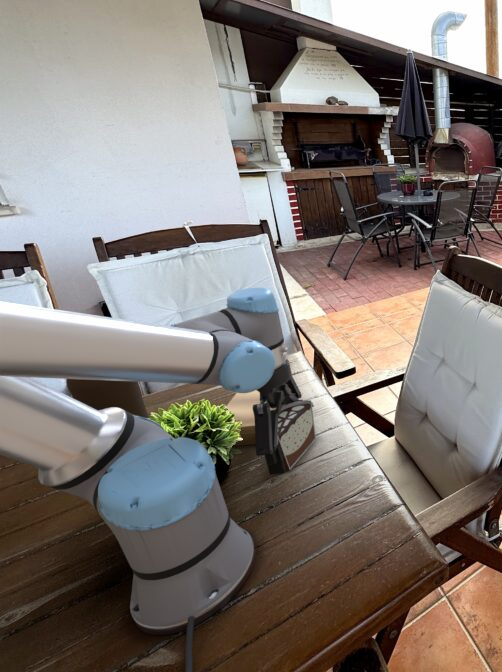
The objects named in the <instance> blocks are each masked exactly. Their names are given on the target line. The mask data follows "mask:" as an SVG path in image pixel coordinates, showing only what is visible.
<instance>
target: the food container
mask: <svg viewBox="0 0 502 672" xmlns="http://www.w3.org/2000/svg"><path fill="white" fill-rule="evenodd" d="M302 400H303V401H297V402H293V403H290V404H287V405H285V404H284V405H283V406H281V413H279V414H278V431H277V445H279V446H280V450H281V454H282V458H283V462H284V466H285V470H286V471H291V470H292V468H293V467H294V466H295V465H296V464H297V463H298V462H299V460H300V459H301V458H302V456H303V455H304V454H305V453H306V452H307V450H308V449H309V448H310V447H311V446H312V444H313V443H314V442H315V441H316V440H317V437H316V436H317V435H316V428H315V420H314V410H313V408H314V407H315V405H314V403H313V401H312V400H311V399H309V400H308V399H307V400H306V399H302Z"/></svg>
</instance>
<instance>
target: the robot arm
mask: <svg viewBox="0 0 502 672" xmlns="http://www.w3.org/2000/svg"><path fill="white" fill-rule="evenodd" d="M288 352H289V347H288V346H286V343H285V338H284V333H283V329H282V324H281V319H280V313H279V308H278V304H277V301H276V298H275V295H274V293H273V291H272V290H270V289H268V288H265V287H248V288H242V289H239V290H236V291H234V292H232V293H230V294H228V295H227V297H226V307H224V308H222V309H219V310H217V311H215V312H210V313H207V314H204V315H201V316H198V317H194V318H191V319H187V320H184V321H181V322H177V323H172V324H170V325H163V324H158V323H151V322H143V321H136V320H129V319H124V318H116V317H111V316H110V317H109V316H103V315H96V314H89V313H83V312H76V311H70V310H69V311H68V310H62V309H55V308H49V307H43V306H42V307H41V306H35V305H29V304H28V305H27V304H21V303H14V302H7V301H0V456H2V457H6V458H8V459H11V460H14V461H17V462H19V463H23V464H25V465H29V466H32V467H34V468H37V469H38V472H37V473H38V475H37V477H38V481H39V483H40V484H41V485H43V486H45V487H48V488H51V489H54V490H57V491H60V492H63V493H66V494H69V495H73V496H75V497H77V498H78V497H79V498H81V499H83V500H85V501H87V502H89V503H90V505H91V506H92V507H93V508H94V510H95V511H96V513H97V514H98V515H99V516H100V517H101V519H102V520H103V522H104V523H105V524H106V526H108V528H109V529H110V530H111V532H112V533H113V535H114V536H115V539H116V540H117V541H118V544H119V546H120V548H121V550H122V552H123V554H124V556H125V558H126V561H127V563H128V564H129V567H130V569H131V571H132V573H133V577H132V584H131V585H132V586H131V594H130V603H129V610H130V614H131V617H132V619H133V622H134V623H135V625H136V626H137V628H138V629H139V630H140V631H142V632H143V633H144V634H147V635H150V636H151V635H152V636H167V635H172V634H176V633H180V632H183V631H185V630H186V636H185V650H184V654H185V655H184V658H185V659H184V661H185V663H184V664H185V665H184V666H185V668H184V672H193V670H194V669H193V667H194V666H193V664H194V663H193V662H194V661H193V660H194V659H193V643H194V629H195V626H197V625H199V624H200V623H202V622H204V621H205V620H208V619H209V618H210V617H211V616H213V615H214V614H216V613H217V612H219V611H220V610H221V609H222V608H223V607H225V606H226V605H227V604H228V603H229V602H231V600H232V599H233V598H235V596H236V595H237V594H238V593H239V592H240V590H241V589H242V588H243V586H244V585H245V584H246V583H247V581H248V579H249V577H250V575H252V574H251V573H252V571H253V569H254V566H255V563H256V558H257V551H256V546H255V543H254V540H253V538H252V536H251V534H250V533H249V532H248V531H247V530H246V529H244V528H242V527H241V526H239V525H238V524H237V523H236V522H235V521H234V519H232V518H231V516H230V514H229V511H228V507H227V504H226V501H225V498H224V496H223V492H222V489H221V485H220V483H219V480H218V477H217V473H216V466H215V465H216V464H215V463H214V460H213V458H212V456H211V454H210V453H209V452H208V450H207V449H206V447H205V446H204V445H203V444H202V443H201V442H199V441H197V440H196V439H193V438H190V437H183V436H179V437H176V438H175V437H173V435H171V433H169V432H167V430H166V429H165V428H164V427H163V425H161V424H159V423H158V422H156V421H154V420H152V419H150V418H149V419H148V418H144V417H140V416H135V415H133V414H131V413H129V412H127V411H125V410H123V409H120V408H117V407H111V408H106V409H102V410H96V409H94V408H92V407H90V406H88V405H86V404H84V403H82V402H79V401H77V400H75V399H74V398H73V397H72V396H70V395H67V394H65V393H63V392H61V391H59V390H57V389H55V388H53V387H51V386H49V385H47V384H45V383H43V382H41V381H39V380H37V379H38V378H40V379H61V380H62V379H63V380H66V379H85V380H111V381H136V382H138V383H163V384H187V385H188V384H189V385H191V384H192V385H204V386H205V385H207V386H210V385H211V386H221V387H222V388H223V389H225V390H227V391H231V392H234V393H249V392H253V391H255V390H257V391H258V392H260V403H259V404H254V405H253V413H254V417H255V440H256V444H255V455H256V456H258V457H261V456H264V459H265V462H266V466H267V470H268V473H269V476H273V475H281V474H285V473H286V471H287V470H286V469H285V466H284V462H283V458H282V454H281V450H280V446H279V445H277V431H278V414H279V413H281V407H282V405H284V406H285V405H287V404H290V403H293V402H297V401H303V400H304V399H301V398H302V395H303V394H302V392H301V390H300V388H299V386H298V384H297V383H296V381H295V379H294V377H293V374H292V369H291V368H292V367H291V364H290V360H289V359H288V357H289V356H288ZM282 402H283V403H282ZM271 408H276V409H275V410H271Z"/></svg>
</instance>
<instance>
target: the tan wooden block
mask: <svg viewBox="0 0 502 672" xmlns="http://www.w3.org/2000/svg"><path fill="white" fill-rule="evenodd" d="M259 403H260V392H258V391H257V390H255V391H253V392H249V393H237V392H235V394H234V396H233V397H232V398H231V399H230V400H229V402H228V403H227V404H226V405H225V407H227V409H228V410H229V411H231V412H233V413H235V420H236V421H238V420H241V421H242V426H241V431H240V435H241V437H242V438H243V440H242V441H238V442H236V444H235V445H234V446H233V447H239V446H247V445H256V440H255V417H254V413H253V405H254V404H259ZM282 404H284V403H283V402H282ZM275 409H276V408H271V410H275Z"/></svg>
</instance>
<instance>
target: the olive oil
mask: <svg viewBox="0 0 502 672" xmlns="http://www.w3.org/2000/svg"><path fill="white" fill-rule="evenodd" d="M65 383H66V388H67V390H68V391H69V393H70V395H71V398H73V399H75V400H77V401H79V402H82V403H84V404H86V405H88V406H90V407H92V408H94V409H96V410H102V409H106V408H111V407H117V408H120V409H123V410H125V411H127V412H129V413H131V414H133V415H135V416H140V417H144V418H149V419H150V417H149V413H148V411H147V407H146V404H145V402H144V398H143V395H142V392H141V388H140V385H139V382H136V381H111V380H85V379H65Z"/></svg>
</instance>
